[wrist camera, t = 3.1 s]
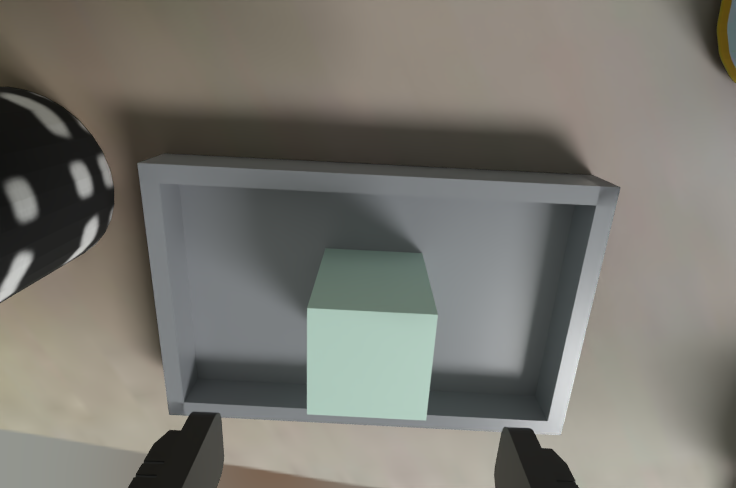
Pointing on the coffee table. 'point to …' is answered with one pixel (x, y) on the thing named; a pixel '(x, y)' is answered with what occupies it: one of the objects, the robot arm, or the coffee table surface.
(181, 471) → the robot arm
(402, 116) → the coffee table surface
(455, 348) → the gray tray
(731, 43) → the bottle
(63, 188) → the white-spotted black cylinder
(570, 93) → the coffee table surface
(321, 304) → the sage block
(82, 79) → the coffee table surface
